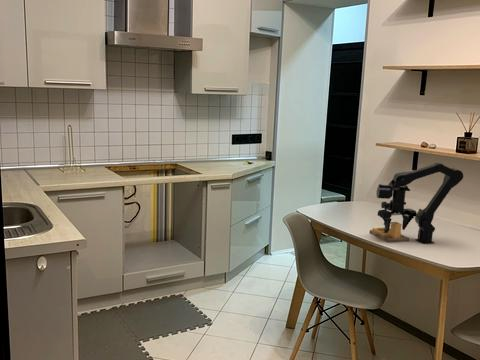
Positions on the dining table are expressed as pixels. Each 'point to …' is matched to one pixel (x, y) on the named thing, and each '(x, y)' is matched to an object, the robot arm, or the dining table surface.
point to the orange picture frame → (394, 230)
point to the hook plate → (389, 238)
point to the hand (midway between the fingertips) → (395, 230)
